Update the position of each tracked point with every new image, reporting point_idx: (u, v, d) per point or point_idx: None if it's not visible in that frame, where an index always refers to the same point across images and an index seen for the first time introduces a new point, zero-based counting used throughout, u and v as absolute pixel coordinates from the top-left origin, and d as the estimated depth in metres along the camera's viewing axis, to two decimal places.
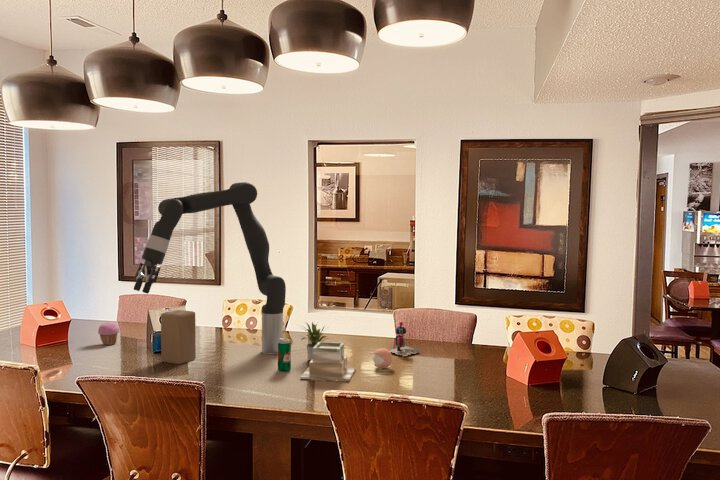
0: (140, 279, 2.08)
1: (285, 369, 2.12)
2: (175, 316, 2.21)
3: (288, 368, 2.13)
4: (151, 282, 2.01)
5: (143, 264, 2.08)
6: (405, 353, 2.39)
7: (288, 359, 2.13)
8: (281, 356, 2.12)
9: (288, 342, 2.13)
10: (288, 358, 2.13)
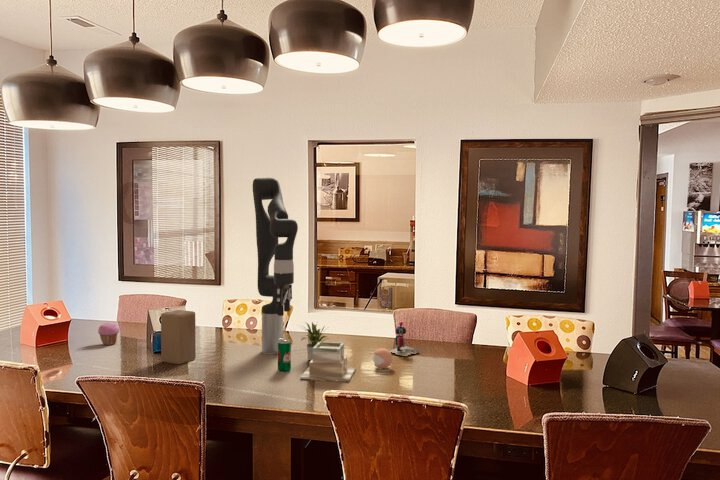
0: None
1: (285, 369, 2.12)
2: (175, 316, 2.21)
3: (288, 368, 2.13)
4: None
5: (283, 289, 2.09)
6: (405, 353, 2.39)
7: (288, 359, 2.13)
8: (281, 356, 2.12)
9: (288, 342, 2.13)
10: (288, 358, 2.13)
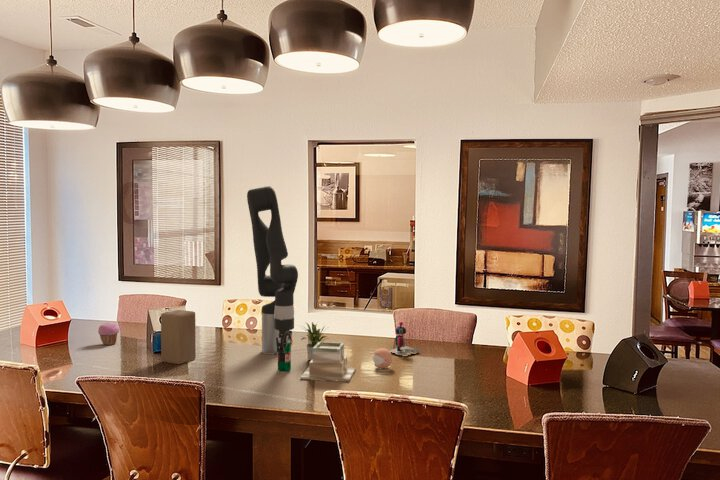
0: None
1: (285, 369, 2.12)
2: (175, 316, 2.21)
3: (288, 368, 2.13)
4: None
5: (284, 335, 2.10)
6: (405, 353, 2.39)
7: (288, 359, 2.13)
8: None
9: (288, 342, 2.13)
10: (288, 358, 2.13)
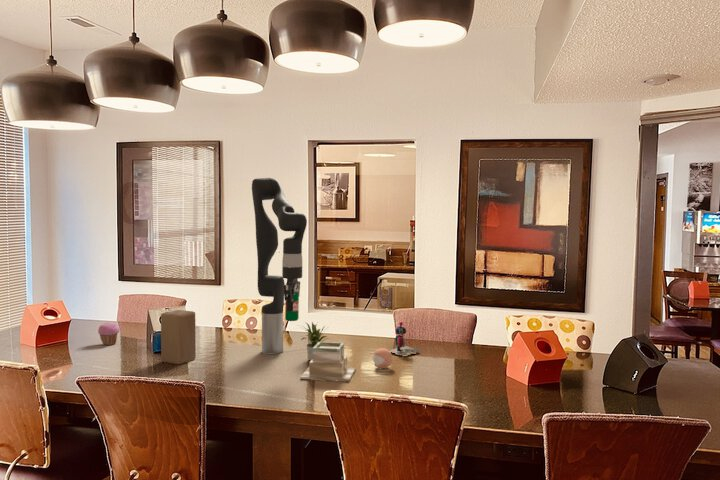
0: None
1: (293, 318, 2.10)
2: (175, 316, 2.21)
3: (296, 317, 2.11)
4: None
5: (292, 283, 2.08)
6: (405, 353, 2.39)
7: (296, 308, 2.10)
8: None
9: (296, 291, 2.10)
10: (296, 307, 2.10)
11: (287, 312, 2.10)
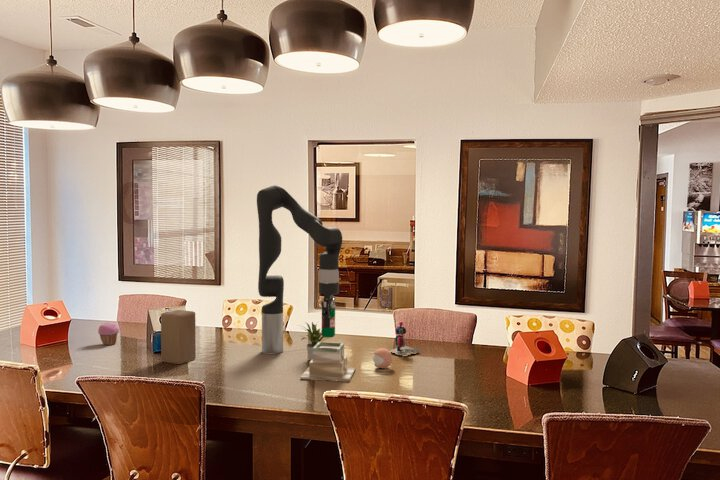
0: None
1: (330, 335, 2.06)
2: (175, 316, 2.21)
3: (332, 334, 2.07)
4: None
5: (329, 300, 2.04)
6: (405, 353, 2.38)
7: (333, 324, 2.07)
8: None
9: (333, 307, 2.07)
10: (333, 323, 2.07)
11: (324, 328, 2.06)
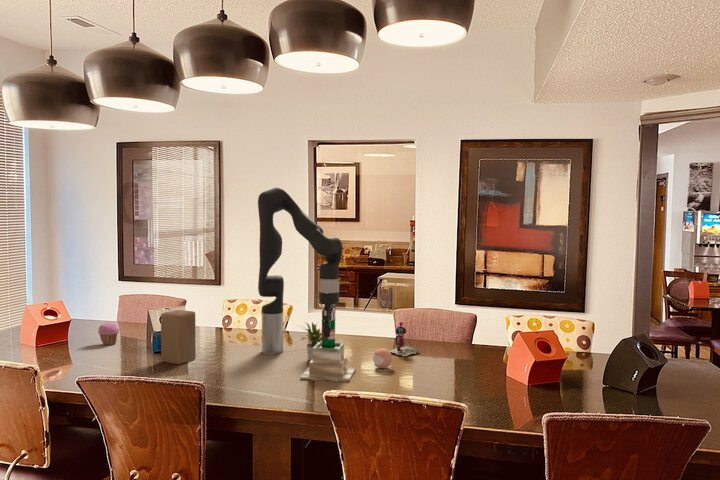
0: None
1: (330, 347, 2.07)
2: (175, 316, 2.21)
3: (333, 346, 2.07)
4: None
5: (330, 309, 2.04)
6: (405, 353, 2.39)
7: (333, 336, 2.07)
8: None
9: (333, 319, 2.07)
10: (333, 335, 2.07)
11: (324, 340, 2.07)
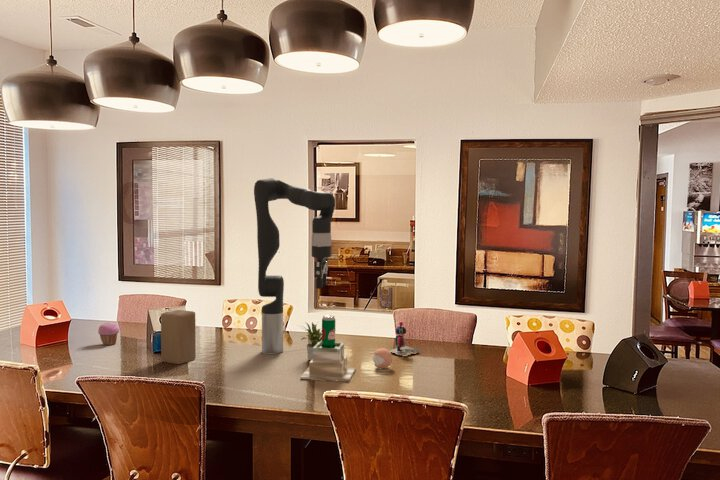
0: None
1: (330, 347, 2.07)
2: (175, 316, 2.21)
3: (333, 346, 2.07)
4: None
5: (322, 262, 2.09)
6: (405, 353, 2.38)
7: (333, 336, 2.07)
8: (326, 333, 2.06)
9: (333, 319, 2.07)
10: (333, 335, 2.07)
11: (324, 341, 2.07)
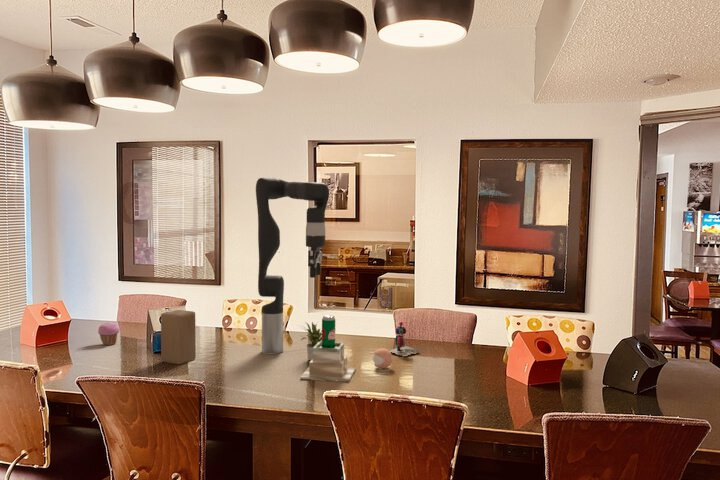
0: None
1: (330, 347, 2.07)
2: (175, 316, 2.21)
3: (333, 346, 2.07)
4: None
5: (316, 251, 2.12)
6: (405, 353, 2.38)
7: (333, 336, 2.07)
8: (326, 333, 2.06)
9: (333, 319, 2.07)
10: (333, 335, 2.07)
11: (324, 341, 2.07)
